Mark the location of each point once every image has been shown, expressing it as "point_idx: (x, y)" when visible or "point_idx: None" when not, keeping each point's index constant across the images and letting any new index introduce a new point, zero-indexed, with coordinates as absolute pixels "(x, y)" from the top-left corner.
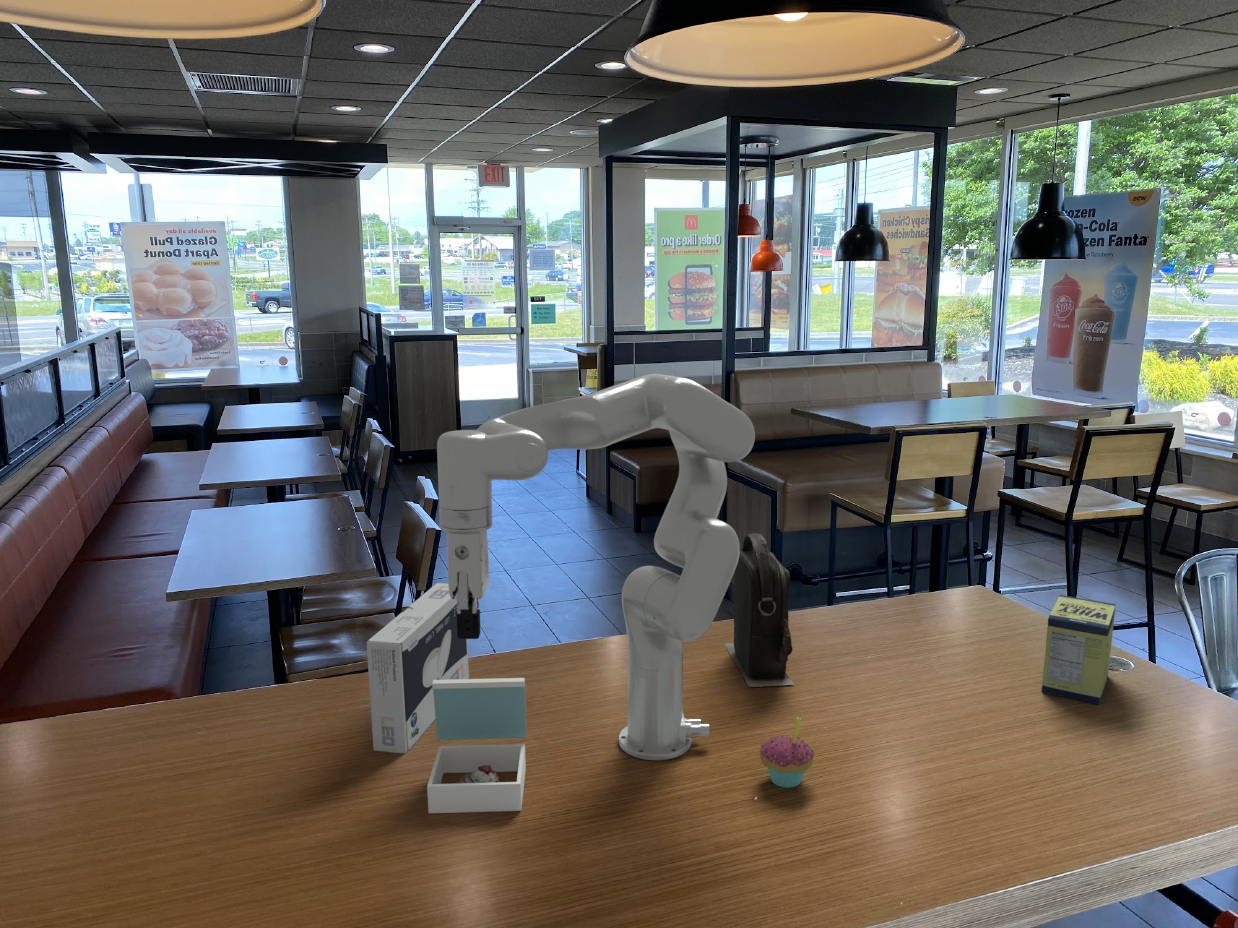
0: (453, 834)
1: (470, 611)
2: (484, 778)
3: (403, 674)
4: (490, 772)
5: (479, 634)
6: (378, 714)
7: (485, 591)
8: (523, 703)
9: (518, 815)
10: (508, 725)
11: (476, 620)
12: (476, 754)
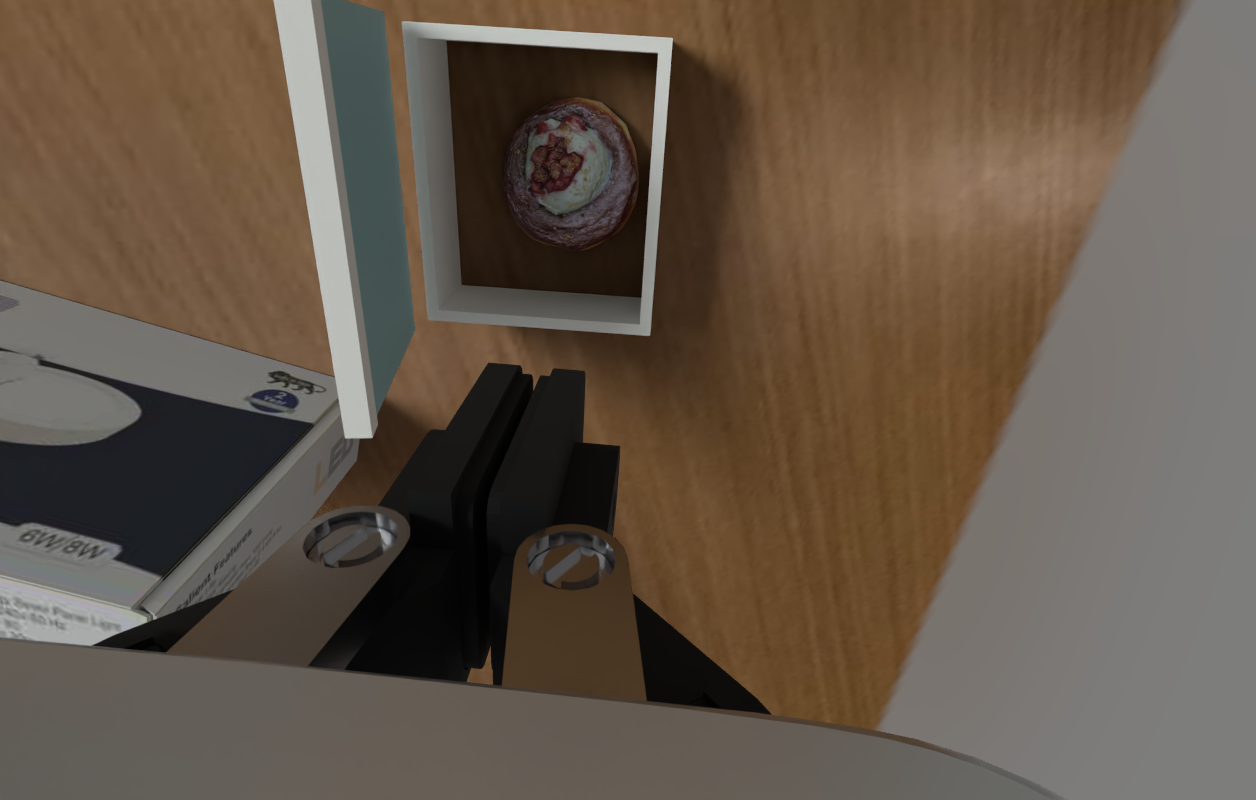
0: (756, 238)
1: (663, 632)
2: (595, 168)
3: (223, 516)
4: (571, 149)
5: (556, 373)
6: (310, 504)
7: (637, 738)
8: (343, 10)
9: (695, 49)
10: (380, 88)
11: (560, 473)
12: (438, 200)
